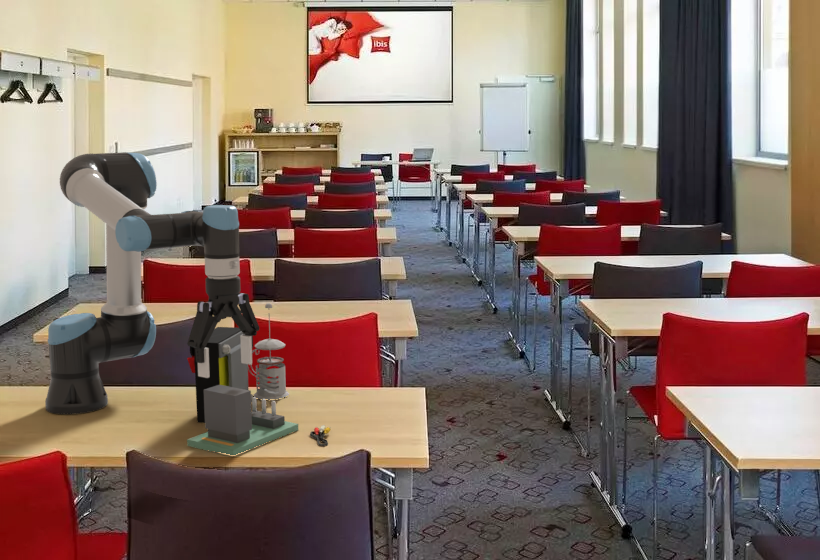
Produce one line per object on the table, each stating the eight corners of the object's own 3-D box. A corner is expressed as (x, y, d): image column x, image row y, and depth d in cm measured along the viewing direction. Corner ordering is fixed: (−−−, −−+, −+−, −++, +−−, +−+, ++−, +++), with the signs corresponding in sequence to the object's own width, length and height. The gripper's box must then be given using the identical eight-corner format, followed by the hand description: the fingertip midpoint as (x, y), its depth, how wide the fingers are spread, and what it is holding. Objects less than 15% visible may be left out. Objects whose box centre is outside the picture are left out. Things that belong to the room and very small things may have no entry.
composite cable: (328, 447, 213) (328, 437, 213) (307, 448, 213) (307, 437, 213) (331, 433, 223) (330, 423, 222) (310, 434, 223) (310, 423, 222)
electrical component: (229, 424, 229) (226, 343, 226) (189, 422, 231) (186, 341, 228) (255, 403, 246) (252, 328, 243) (218, 401, 248) (215, 326, 245)
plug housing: (252, 429, 214) (250, 390, 213) (236, 435, 210) (235, 396, 208) (220, 422, 219) (219, 384, 218) (205, 428, 215) (203, 389, 214)
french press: (278, 402, 248) (276, 307, 244) (239, 397, 252) (236, 305, 248) (296, 392, 257) (294, 301, 253) (258, 388, 261) (255, 298, 257)
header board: (187, 445, 214) (185, 413, 213) (253, 420, 232) (252, 390, 231) (233, 457, 206) (232, 423, 205) (298, 429, 225) (297, 399, 223)
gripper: (193, 285, 197) (197, 385, 200) (273, 270, 217) (275, 360, 221) (167, 282, 201) (172, 380, 204) (248, 267, 221) (251, 356, 225)
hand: (225, 370), depth 212 cm, fingers open, 13 cm apart
